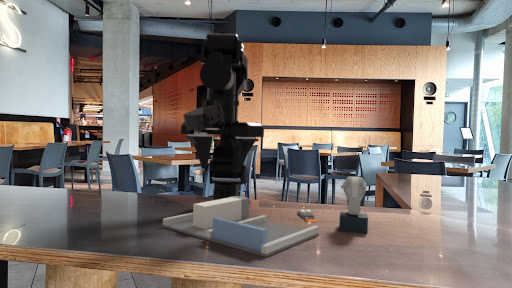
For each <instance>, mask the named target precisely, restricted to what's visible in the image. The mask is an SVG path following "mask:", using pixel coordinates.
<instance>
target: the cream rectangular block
mask: <svg viewBox="0 0 512 288" xmlns="http://www.w3.org/2000/svg"><path fill="white" fill-rule="evenodd" d="M192 210H193V211H192V213H193V226H195V227H199V228H203V229H207V228H211V227H213V218H216V217H217V218H222V219H226V220H230V221H238V220H241V219H242V220H243V219H247V218H250V216H249V215H250V198H249V197H245V196H244V197H243V196H240V195H239V196H233V197H229V198H224V199H218V200H213V199H212V200H209V201H203V202H198V203H193V209H192Z"/></svg>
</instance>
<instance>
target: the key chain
mask: <svg viewBox="0 0 512 288" xmlns="http://www.w3.org/2000/svg"><path fill="white" fill-rule="evenodd" d="M298 214H299V215H300V218H301V219H304V218H305V219H304V221H305V222H307V225H309V224H310V225H311V224H312V223H316V222H317V220H316V219H315V215H314V213H313V211H311V210H310V209H299V210H298V211H297V215H298ZM299 215H298V216H299ZM313 218H314V219H313Z"/></svg>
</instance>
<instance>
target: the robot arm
mask: <svg viewBox="0 0 512 288" xmlns="http://www.w3.org/2000/svg"><path fill="white" fill-rule="evenodd" d="M244 53H245V45H244V44H243V40H242V39H240V38H239V35H238V33H218V32H217V33H212V32H211V33H207V34H206V38H203V42H202V46H201V53H200V57H199V58H200V59H199V61H200V62H199V64H201V65H202V66H201V68H200V70H199V79H200V82H201V83H202V85H204V87H205V88H207V96H206V98H207V99H206V98H204V99H202V102H201V107H198V108H195V109H193V110H191V111H188V112H185V113H184V114H183V115H182V116H183V119H184V121H183V122H182V124H181V125H180V134H181V135H184V137H185V139H188V140H189V141H190V142H191V143H192V144H193V146H194V149H195V152H196V154H197V157H198V162H199V163H200V167H201V169H202V170H206V169H207V168H208V170H209V171H208V172H209V177H208V178H209V184H210V185H212V184H213V190H212V201H213V200H218V199H224V198H229V197H233V196H239V197H240V188H241V187H240V185H242V186H243V185H246V184H247V166H246V165H245V160H246V158H247V156H248V154H249V153H250V151H251V149H252V148H253V146H254V145H255V143H256V142H259V138H264V137H265V135H264V134H265V133H264V132H265V128H264V126H263V125H262V123H261V122H246V121H245V122H243V121H242V122H241V121H240V122H239V120H238V117H239V116H238V115H239V106H240V100H239V97H240V95H241V94H242V93H243V92H244V89H245V87H246V81H248V78H249V67H248V65H249V63H248V58H247V56H246V55H245V54H244ZM211 134H219V135H220V138H219V143H218V144H217V145H215V146H214V148H212V144H213V139H214V136H213V135H211ZM210 135H211V136H210ZM212 149H213V150H212ZM211 150H212V159H210V155H211V154H210V153H211ZM208 164H209V165H208ZM208 166H209V167H208Z"/></svg>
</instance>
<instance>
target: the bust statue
mask: <svg viewBox="0 0 512 288" xmlns="http://www.w3.org/2000/svg"><path fill="white" fill-rule="evenodd" d="M367 187H368V186H367V183H366V181H365V180H364V178H363V177H361V176H351V175H350V176H347V178H345V180H344V181H343V183H342V184H340V189H342V190H343V193H344V195H345V198H346V200H348V203H347V204H348V205H347V211H340V212H339V227H338V228H339V229H338V231H339V232H346V233H347V232H348V233H359V234H368V233H369V232H368V231H369V230H368V228H369V216H368V213H366V212H365V213H364V212H361V201H362V200H363V198H364V195H365V194H366V192H367Z"/></svg>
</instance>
